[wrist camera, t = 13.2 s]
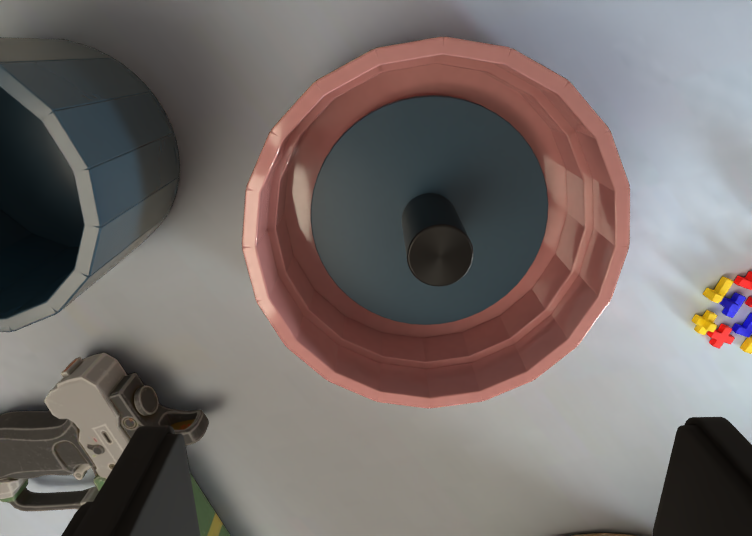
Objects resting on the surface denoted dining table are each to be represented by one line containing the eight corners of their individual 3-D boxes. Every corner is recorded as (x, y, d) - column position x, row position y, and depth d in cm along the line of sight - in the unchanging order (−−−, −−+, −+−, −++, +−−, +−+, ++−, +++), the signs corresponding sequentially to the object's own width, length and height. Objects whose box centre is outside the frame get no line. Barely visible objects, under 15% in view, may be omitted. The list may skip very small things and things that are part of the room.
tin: (-6, 254, 29) (-152, 332, 21) (-65, 39, 25) (-272, 36, 17) (192, 253, 28) (121, 332, 21) (163, 39, 25) (63, 34, 17)
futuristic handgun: (87, 654, 36) (296, 602, 34) (-103, 434, 30) (139, 350, 27) (107, 613, 39) (303, 562, 36) (-64, 403, 32) (161, 323, 30)
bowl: (203, 210, 28) (164, 247, 23) (432, -42, 24) (447, -66, 18) (419, 396, 32) (427, 463, 27) (646, 209, 28) (707, 245, 22)
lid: (318, 315, 29) (303, 380, 24) (307, 94, 25) (286, 107, 19) (530, 315, 29) (567, 379, 24) (554, 93, 25) (606, 106, 19)
